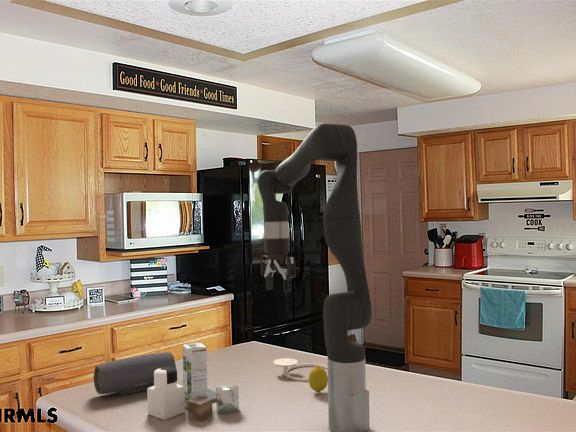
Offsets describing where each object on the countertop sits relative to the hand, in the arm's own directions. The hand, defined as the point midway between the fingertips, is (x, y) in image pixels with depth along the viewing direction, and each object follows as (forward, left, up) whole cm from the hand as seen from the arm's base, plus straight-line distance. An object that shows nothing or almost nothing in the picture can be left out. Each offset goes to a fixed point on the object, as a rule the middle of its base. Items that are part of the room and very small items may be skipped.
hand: (278, 290), depth 164 cm
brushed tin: (-4, +22, -29) cm, 37 cm away
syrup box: (+10, +23, -29) cm, 38 cm away
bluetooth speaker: (+29, +33, -30) cm, 53 cm away
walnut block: (-3, +30, -29) cm, 42 cm away
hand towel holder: (+5, -15, -30) cm, 34 cm away
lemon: (-11, -5, -30) cm, 32 cm away
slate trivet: (+10, +24, -29) cm, 39 cm away
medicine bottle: (+5, +35, -30) cm, 46 cm away
